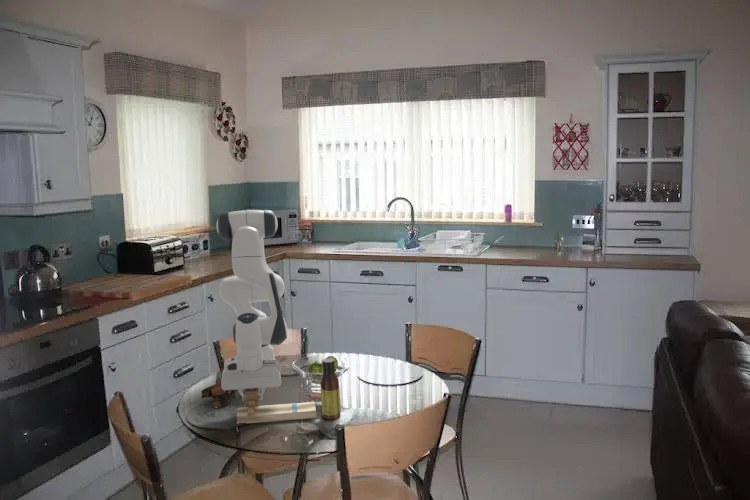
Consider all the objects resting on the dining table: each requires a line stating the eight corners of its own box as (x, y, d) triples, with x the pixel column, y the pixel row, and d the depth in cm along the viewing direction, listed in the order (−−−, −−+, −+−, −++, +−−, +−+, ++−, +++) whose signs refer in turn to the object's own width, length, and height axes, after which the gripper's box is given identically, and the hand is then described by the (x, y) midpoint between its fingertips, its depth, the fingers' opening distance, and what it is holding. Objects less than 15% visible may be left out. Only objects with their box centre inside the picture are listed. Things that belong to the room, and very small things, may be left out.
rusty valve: (207, 412, 235) (198, 390, 236) (207, 414, 244) (198, 393, 245) (240, 398, 239) (231, 376, 241) (238, 400, 248) (230, 379, 249)
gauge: (247, 406, 237) (246, 384, 236) (258, 405, 237) (257, 384, 236) (245, 423, 222) (244, 401, 221) (257, 422, 223) (256, 400, 221)
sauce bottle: (331, 411, 232) (329, 355, 229) (344, 415, 228) (342, 358, 225) (317, 417, 227) (315, 360, 224) (331, 422, 223) (329, 364, 220)
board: (238, 414, 231) (237, 407, 231) (314, 408, 235) (314, 401, 234) (237, 424, 223) (236, 416, 223) (316, 417, 227) (316, 410, 227)
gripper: (280, 356, 236) (282, 394, 239) (220, 360, 234) (223, 398, 236) (281, 362, 230) (282, 401, 233) (219, 366, 227) (221, 405, 230)
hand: (252, 399), depth 234 cm, fingers closed on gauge, 4 cm apart
